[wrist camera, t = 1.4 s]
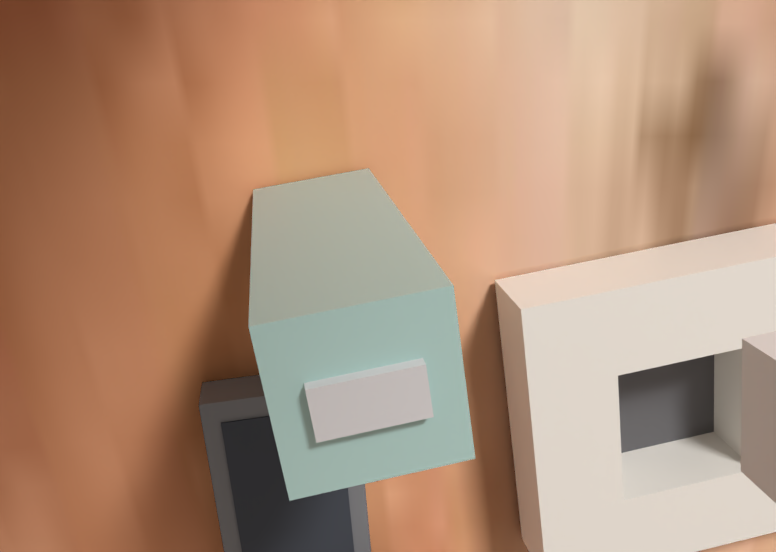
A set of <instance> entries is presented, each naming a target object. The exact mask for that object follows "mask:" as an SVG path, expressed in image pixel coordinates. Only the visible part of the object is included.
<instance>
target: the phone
mask: <svg viewBox="0 0 776 552" xmlns="http://www.w3.org/2000/svg"><path fill="white" fill-rule="evenodd" d="M199 410H200V416H201V422H202V427H203V433H204V439H205V445H206V450H207V456H208V462H209V467H210V473H211V479H212V485H213V490H214V496H215V502H216V508H217V513H218V519H219V525H220V530H221V536H222V542H223V548H224V552H371V546H370V535H369V524H368V513H367V503H366V492H365V484H361V485H357V486H353V487H348V488H344V489H339V490H335V491H331V492H326V493H322V494H317V495H313V496H309V497H304V498H300V499H295V500H291V501H289V497H288V492H287V488H286V484H285V480H284V475H283V471H282V467H281V463H280V458H279V454H278V450H277V446H276V441H275V437H274V433H273V429H272V425H271V420H270V416H269V412H268V408H267V403H266V399H265V395H264V391H263V386H262V382H261V378H260V375H254V376H246V377H239V378H231V379H224V380H217V381H209V382H202V387H201V393H200V399H199Z"/></svg>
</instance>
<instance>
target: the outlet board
mask: <svg viewBox="0 0 776 552" xmlns="http://www.w3.org/2000/svg"><path fill="white" fill-rule="evenodd" d="M495 288H496V298H497V307H498V317H499V326H500V336H501V345H502V354H503V364H504V373H505V383H506V392H507V402H508V411H509V420H510V430H511V439H512V449H513V458H514V468H515V477H516V487H517V496H518V505H519V515H520V524H521V534H522V539H523V541H524V543H525V545H526V547H527V549H528V551H529V552H697V551H701V550H705V549H709V548H713V547H717V546H721V545H725V544H729V543H733V542H737V541H741V540H745V539H749V538H753V537H757V536H761V535H765V534H769V533H774V532H776V503H775V502H774V501H773V500H772V499H770V498H769V497H768V496H767V495H766V494H765V493H764V492H763V491H762V490H761V489H760V488H758V487H757V486H756V485H755V484H754V483H753V482H752V481H751V480H750V479H749V478H748V477H747V476H745V475H744V474H743V473H742V472H741V391H742V338H747V337H751V336H756V335H760V334H765V333H769V332H774V331H776V223H775V224H770V225H765V226H760V227H755V228H750V229H745V230H740V231H735V232H730V233H725V234H720V235H715V236H710V237H705V238H700V239H695V240H690V241H686V242H681V243H676V244H671V245H666V246H661V247H656V248H651V249H646V250H641V251H636V252H631V253H626V254H621V255H616V256H611V257H606V258H601V259H597V260H592V261H587V262H582V263H577V264H572V265H567V266H562V267H557V268H552V269H547V270H542V271H537V272H532V273H527V274H522V275H517V276H512V277H507V278H503V279H498V280H495Z"/></svg>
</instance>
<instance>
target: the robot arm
mask: <svg viewBox="0 0 776 552" xmlns="http://www.w3.org/2000/svg"><path fill="white" fill-rule="evenodd" d="M741 472H742V473H743V474H744V475H745V476H747V477H748V478H749V479H750V480H751V481H752V482H753V483H754V484H755V485H756V486H757V487H758V488H760V489H761V490H762V491H763V492H764V493H765V494H766V495H767V496H768V497H769V498H770V499H772V500H773V501H774V502H775V503H776V331H774V332H769V333H765V334H760V335H756V336H751V337H747V338H742V391H741Z"/></svg>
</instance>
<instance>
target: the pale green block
mask: <svg viewBox="0 0 776 552" xmlns="http://www.w3.org/2000/svg"><path fill="white" fill-rule="evenodd" d="M248 327H249V331H250V336H251V340H252V344H253V348H254V353H255V357H256V361H257V365H258V369H259V374H260V378H261V382H262V386H263V391H264V395H265V399H266V403H267V408H268V412H269V416H270V420H271V425H272V429H273V433H274V437H275V441H276V446H277V450H278V454H279V458H280V463H281V467H282V471H283V475H284V480H285V484H286V488H287V492H288V497H289V501H291V500H295V499H300V498H304V497H309V496H313V495H317V494H322V493H326V492H331V491H335V490H339V489H344V488H348V487H353V486H357V485H361V484H366V483H370V482H375V481H379V480H383V479H388V478H392V477H397V476H401V475H405V474H410V473H414V472H419V471H423V470H427V469H432V468H436V467H441V466H445V465H449V464H454V463H458V462H463V461H467V460H471V459H475V451H474V443H473V436H472V428H471V420H470V412H469V404H468V396H467V388H466V380H465V373H464V365H463V357H462V349H461V341H460V333H459V325H458V318H457V310H456V302H455V294H454V286H453V284H452V283H451V281H450V280H449V279H448V277H447V276H446V274H445V273H444V272H443V270H442V269H441V268H440V266H439V265H438V263H437V262H436V261H435V259H434V258H433V257H432V255H431V254H430V252H429V251H428V250H427V248H426V247H425V246H424V244H423V243H422V241H421V240H420V239H419V237H418V236H417V234H416V233H415V232H414V230H413V229H412V228H411V226H410V225H409V223H408V222H407V221H406V219H405V218H404V217H403V215H402V214H401V212H400V211H399V210H398V208H397V207H396V205H395V204H394V203H393V201H392V200H391V199H390V197H389V196H388V194H387V193H386V192H385V190H384V189H383V188H382V186H381V185H380V183H379V182H378V181H377V179H376V178H375V176H374V175H373V174H372V172H371V171H370V170H369V168H368V169H362V170H357V171H351V172H346V173H340V174H335V175H329V176H324V177H318V178H313V179H307V180H302V181H297V182H291V183H286V184H280V185H275V186H269V187H264V188H258V189H253V208H252V237H251V266H250V295H249V325H248Z"/></svg>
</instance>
